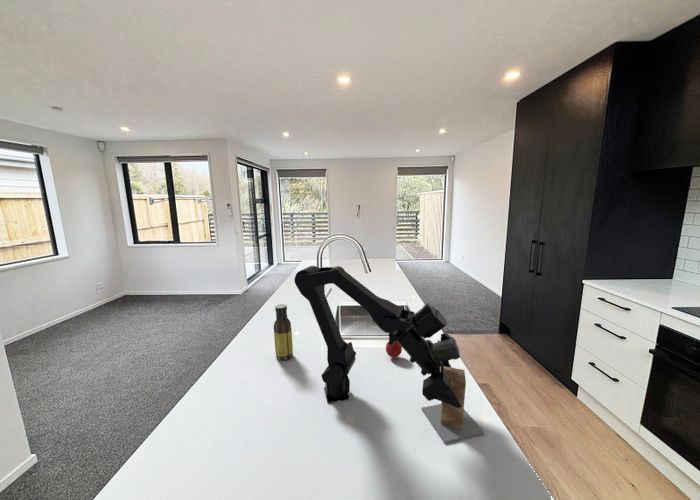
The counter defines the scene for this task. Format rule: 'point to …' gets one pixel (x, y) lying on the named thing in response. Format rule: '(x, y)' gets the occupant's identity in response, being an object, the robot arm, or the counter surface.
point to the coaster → (451, 433)
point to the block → (457, 385)
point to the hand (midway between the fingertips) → (459, 394)
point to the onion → (393, 349)
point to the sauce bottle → (282, 334)
